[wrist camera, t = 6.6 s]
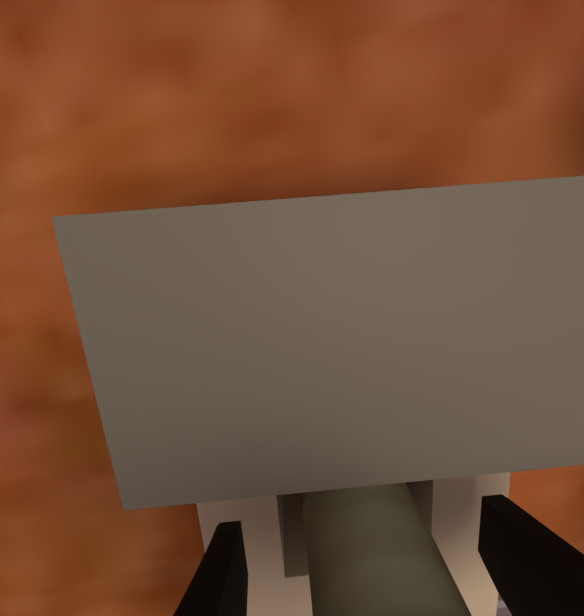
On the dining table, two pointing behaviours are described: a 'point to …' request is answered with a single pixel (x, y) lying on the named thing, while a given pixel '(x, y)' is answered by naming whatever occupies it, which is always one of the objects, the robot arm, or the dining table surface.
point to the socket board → (335, 358)
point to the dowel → (375, 555)
